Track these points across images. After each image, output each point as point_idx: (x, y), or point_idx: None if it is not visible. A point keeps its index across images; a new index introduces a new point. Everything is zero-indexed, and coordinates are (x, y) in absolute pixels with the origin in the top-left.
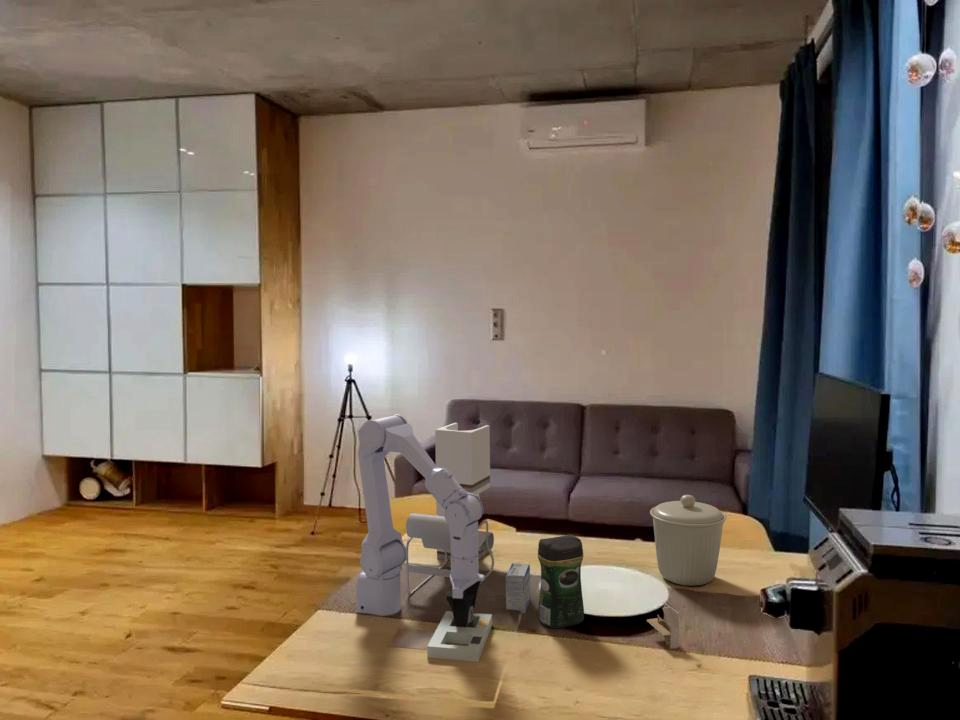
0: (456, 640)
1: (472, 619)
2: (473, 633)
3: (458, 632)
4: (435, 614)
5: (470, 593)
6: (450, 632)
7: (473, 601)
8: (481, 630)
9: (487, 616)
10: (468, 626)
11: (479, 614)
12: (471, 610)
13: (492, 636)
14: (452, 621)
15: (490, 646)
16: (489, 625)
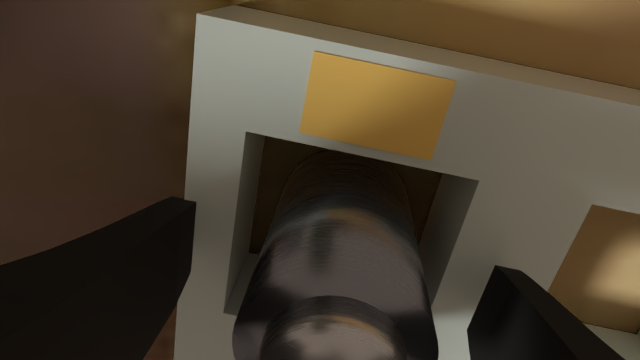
0: None
1: (378, 216)
2: (591, 201)
3: None
4: None
5: (100, 340)
6: None
7: (154, 249)
8: (547, 131)
9: (245, 63)
10: (411, 225)
11: (207, 137)
12: (399, 281)
13: (375, 6)
14: None
15: (544, 28)
16: (355, 41)
